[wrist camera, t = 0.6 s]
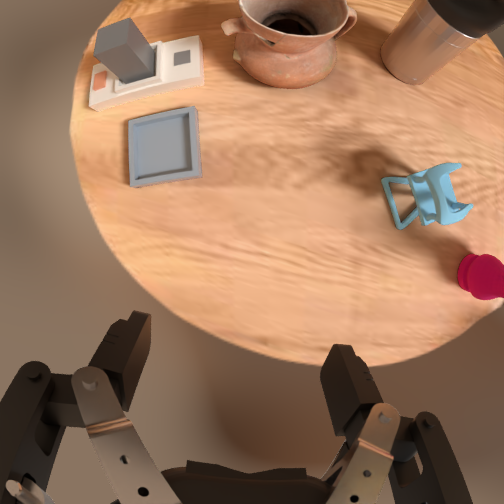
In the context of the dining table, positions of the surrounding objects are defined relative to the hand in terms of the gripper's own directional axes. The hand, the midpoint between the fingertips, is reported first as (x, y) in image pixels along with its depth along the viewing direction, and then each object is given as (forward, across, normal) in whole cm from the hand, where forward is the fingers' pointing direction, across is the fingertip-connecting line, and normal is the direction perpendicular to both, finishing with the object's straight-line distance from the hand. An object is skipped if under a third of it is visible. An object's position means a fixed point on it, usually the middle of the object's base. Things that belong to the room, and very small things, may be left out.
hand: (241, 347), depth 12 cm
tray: (+31, +12, -5) cm, 34 cm away
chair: (+28, -24, -7) cm, 37 cm away
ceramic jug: (+34, -2, -23) cm, 41 cm away
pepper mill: (+24, -39, +1) cm, 46 cm away
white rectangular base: (+35, +19, -16) cm, 43 cm away
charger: (+32, +19, -17) cm, 41 cm away
